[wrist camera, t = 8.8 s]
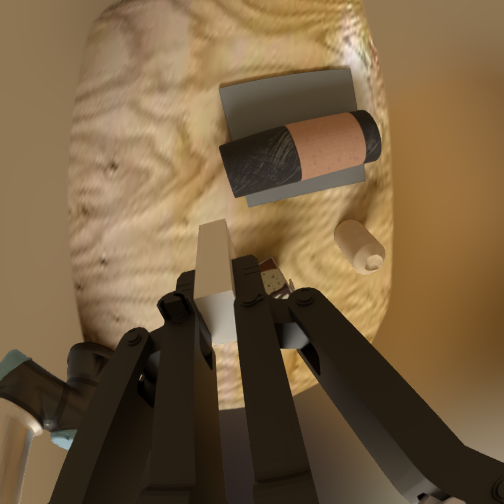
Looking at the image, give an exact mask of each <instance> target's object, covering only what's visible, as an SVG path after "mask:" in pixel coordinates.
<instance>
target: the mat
mask: <svg viewBox="0 0 504 504" xmlns="http://www.w3.org/2000/svg"><path fill="white" fill-rule="evenodd" d="M219 92H220V96H221V100H222V104H223V108H224V112H225V116H226V120H227V124H228V128H229V132H230V136H231V139H232V141H235V140H238V139H241V138H244V137H247V136H250V135H253V134H256V133H259V132H263V131H266V130H269V129H273V128H276V127H280V126H284V125H287V124H291V123H296V122H300V121H305V120H309V119H314V118H319V117H324V116H329V115H334V114H340V113H346V112H351V111H357V105H356V98H355V92H354V87H353V81H352V76H351V71H350V69H336V70H325V71H315V72H306V73H298V74H291V75H284V76H278V77H272V78H266V79H261V80H256V81H251V82H246V83H241V84H236V85H232V86H228V87H223V88H219ZM363 181H365V172H364V164H361V165H357V166H354V167H350V168H346V169H342V170H339V171H335V172H331V173H328V174H324V175H320V176H317V177H313V178H310V179H306V180H303V181H299V182H295V183H291V184H287V185H283V186H280V187H276V188H272V189H268V190H264V191H261V192H257V193H253V194H249V195H246V199H247V203H248V207H249V208H250V207H253V206H257V205H262V204H266V203H270V202H274V201H278V200H282V199H286V198H291V197H295V196H299V195H303V194H308V193H312V192H317V191H321V190H326V189H330V188H335V187H339V186H344V185H349V184H354V183H358V182H363Z"/></svg>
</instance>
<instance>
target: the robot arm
mask: <svg viewBox="0 0 504 504" xmlns="http://www.w3.org/2000/svg"><path fill="white" fill-rule="evenodd" d="M157 307H158V309H159V311H160V313H161V315H162V316H163V318H164V320H165V322H164V325H163V326H162V327H160V328H158V329H156V330H154V331H152V332H150V333H149V332H148V331H147V330H146V329H145V328H142V327H137V328H133V329H131V330H129V331H128V332H127V333H125V334H124V336H123V337H122V338H121V340H120V342H119V344H118V346H117V348H116V350H115V352H113V351H112V350H110V349H108V348H106V347H104V346H101V345H98V344H94V343H87V342H83V343H78V344H75V345H74V346H73V347H72V348H71V349H70V352H69V354H68V358H67V364H68V370H67V376H68V377H67V383H65V382H64V381H62V380H61V379H59V378H57V377H56V376H54V375H53V374H51V373H50V372H48V371H47V370H46V369H44V368H43V367H41V366H40V365H38V364H37V363H36V362H34V361H33V360H32V358H30V357H27V356H26V355H24V354H23V353H22V352H20V351H18V350H11V351H10V352H8V354H7V355H6V356H5V357H4V358H3V360H2V361H1V363H0V504H21V496H22V489H23V483H24V477H25V471H26V466H27V461H28V456H29V452H30V448H31V443H32V439H33V437H34V436H37V435H41V434H42V432H43V429H46V430H47V431H49V432H51V434H50V436H51V440H52V442H54V443H55V444H57V445H58V446H60V447H62V448H64V449H67V450H69V451H68V454H67V456H66V459H65V461H64V464H63V466H62V469H61V471H60V474H59V477H58V479H57V482H56V485H55V488H54V490H53V493H52V496H51V499H50V502H49V503H48V504H135V501H136V497H137V494H138V490H139V487H140V483H141V480H142V476H143V473H144V470H145V466H146V463H147V460H148V456H149V453H150V450H151V464H150V483H149V486H148V487H147V488H145V489H144V490H142V491H141V493H140V495H139V501H138V504H228V502H227V497H226V489H225V479H224V469H223V458H222V447H221V434H220V421H219V407H218V391H217V374H216V355H215V352H214V350H213V348H212V340H213V343H214V345H215V346H217V345H221V344H226V343H230V342H235V341H237V343H238V352H239V360H240V369H241V377H242V385H243V393H244V401H245V409H246V417H247V425H248V432H249V439H250V447H251V454H252V461H253V468H254V475H255V481H254V484H253V499H254V504H319V502H318V498H317V494H316V490H315V485H314V481H313V477H312V474H311V470H310V466H309V462H308V458H307V453H306V449H305V445H304V442H303V438H302V433H301V429H300V425H299V422H298V417H297V414H296V410H295V406H294V402H293V398H292V394H291V390H290V386H289V382H288V378H287V374H286V370H285V366H284V362H283V358H282V354H281V350H280V349H297V352H298V353H299V355H300V356H301V357H302V359H303V360H304V362H305V363H306V365H307V366H308V367H309V369H310V370H311V372H312V373H313V375H314V376H315V377H316V379H317V380H318V382H319V383H320V385H321V386H322V387H323V389H324V390H325V392H326V393H327V395H328V396H329V397H330V399H331V400H332V402H333V403H334V404H335V406H336V407H337V408H338V410H339V411H340V413H341V414H342V416H343V417H344V419H345V420H346V421H347V422H348V424H349V425H350V427H351V428H352V429H353V431H354V432H355V434H356V435H357V437H358V438H359V439H360V441H361V442H362V444H363V445H364V446H365V447H366V449H367V450H368V452H369V453H370V454H371V456H372V457H373V458H374V460H375V461H376V463H377V464H378V465H379V467H380V468H381V470H382V471H383V472H384V474H385V475H386V476H387V478H388V479H389V480H390V482H391V483H392V484H393V486H394V487H395V488H396V489H397V490H398V491H399V492H400V494H401V495H402V496H403V497H405V498H406V499H407V500H408V501H409V502H410V503H412V504H504V463H503V462H500V461H498V460H496V459H494V458H491V457H489V456H486V455H484V454H482V453H480V452H478V451H476V450H473V449H471V448H469V447H467V446H465V445H464V444H463V443H462V442H461V441H460V440H459V439H458V438H457V436H456V435H455V434H454V433H453V432H452V431H451V430H450V429H449V428H448V426H447V425H446V424H445V423H444V422H443V421H442V420H441V419H440V418H439V417H438V415H437V414H436V413H435V412H434V411H433V410H432V409H431V408H430V407H429V406H428V404H427V403H426V402H425V401H424V400H423V399H422V398H421V397H420V396H419V395H418V394H417V393H416V392H415V390H414V389H413V388H412V387H411V386H410V385H409V384H408V383H407V382H406V381H405V380H404V379H403V378H402V377H401V375H400V374H399V373H398V372H397V371H396V370H395V369H394V368H393V367H392V366H391V365H390V364H389V363H388V362H387V360H385V358H384V357H383V356H382V355H381V354H380V353H379V352H378V351H377V350H376V349H375V348H374V347H373V346H372V345H371V344H370V343H369V342H368V341H367V339H366V338H365V337H364V336H363V335H362V334H361V333H360V332H359V331H358V330H357V329H356V328H355V327H354V326H353V325H352V324H351V323H350V322H349V321H348V320H347V319H346V318H345V317H344V316H343V315H342V314H341V312H340V311H339V310H338V309H337V308H336V307H335V306H334V305H333V304H332V303H331V302H330V301H329V300H328V299H327V298H326V297H325V296H324V295H323V294H322V293H321V292H320V291H318V290H317V289H314V288H310V287H307V288H300V289H297V290H295V291H293V292H292V293H291V294H290V295H289V296H288V299H277V298H273V297H271V296H269V295H268V294H267V293H266V291H265V288H264V284H263V280H262V276H261V272H260V268H259V264H258V261H257V258H255V257H254V256H253V255H252V254H251V255H247V256H243V257H239V258H236V255H235V251H234V248H233V244H232V241H231V238H230V234H229V231H228V227H227V224H226V221H225V219H222V220H218V221H214V222H210V223H207V224H203V225H199V235H198V246H197V258H196V269H195V270H191V271H187V272H183V273H182V274H181V275H180V277H179V278H178V279H177V284H176V291H173V292H170V293H168V294H166V295H165V296H163V297H162V298H161V299H160V300H159V301H158V303H157ZM141 374H142V377H141V379H140V376H141ZM139 379H140V380H139Z"/></svg>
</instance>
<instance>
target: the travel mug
mask: <svg viewBox="0 0 504 504" xmlns="http://www.w3.org/2000/svg"><path fill="white" fill-rule="evenodd" d="M219 150H220V153H221V157H222V160H223V164H224V167H225V170H226V173H227V176H228V179H229V182H230V185H231V188H232V191H233V194H234V196H235V198H238V197H242V196H246V195H249V194H253V193H257V192H261V191H264V190H268V189H272V188H276V187H280V186H283V185H287V184H291V183H295V182H299V181H303V180H306V179H310V178H313V177H317V176H320V175H324V174H328V173H331V172H335V171H339V170H342V169H346V168H350V167H354V166H357V165H361V164H365V163H369V162H373V161H376V160H377V159H378V158H379V157H380V154H381V137H380V133H379V130H378V127H377V125H376V123H375V121H374V119H373V118H372V116H371V115H370V114H369V113H368V112H366V111H365V110H358V111H351V112H346V113H340V114H334V115H329V116H324V117H319V118H314V119H309V120H305V121H300V122H296V123H291V124H287V125H284V126H280V127H276V128H273V129H269V130H266V131H263V132H259V133H256V134H253V135H250V136H247V137H244V138H241V139H238V140H235V141H232V142H229V143H226V144H223V145H221V146H219Z"/></svg>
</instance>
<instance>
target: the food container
mask: <svg viewBox="0 0 504 504" xmlns="http://www.w3.org/2000/svg"><path fill="white" fill-rule="evenodd" d="M259 268H260V272H261V276H262V280H263V284H264V288H265V291H266V293H267V294H268V295H269V296H271V297H273V298H277V299H288V296H289V295H290V294H291V293H292V292H293V291H295V289H294V285H293V282H292V281H291V279H289V282H290V285H288V283H287V281H286V279H285V278H284V276H283V274H282V272H281V271H280V269H279V267H278V265H277V264H276V262H275V260H274V258H273V257H272V256H270V257H269V258H267V259H265V260H264V261H262V262H261V263H259Z"/></svg>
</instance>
